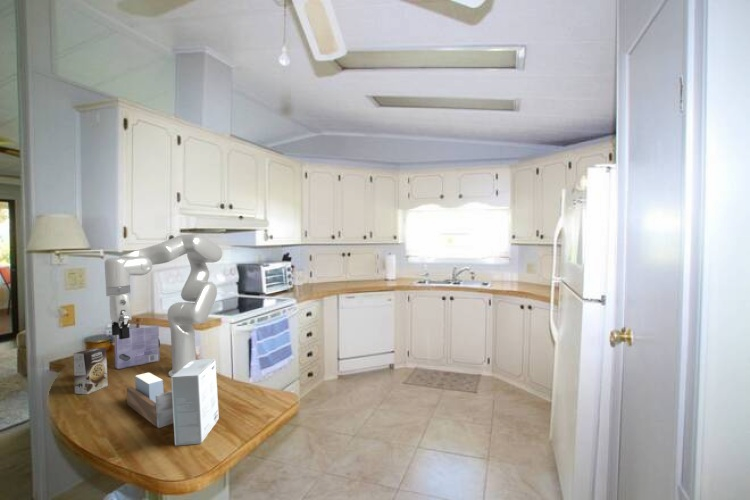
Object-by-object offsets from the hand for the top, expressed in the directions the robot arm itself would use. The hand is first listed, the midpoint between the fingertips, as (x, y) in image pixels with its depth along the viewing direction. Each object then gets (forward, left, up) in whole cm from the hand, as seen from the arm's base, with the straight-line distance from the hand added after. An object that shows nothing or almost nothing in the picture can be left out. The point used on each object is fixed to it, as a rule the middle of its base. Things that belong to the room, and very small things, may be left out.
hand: (120, 336), depth 143 cm
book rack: (-4, +21, -24) cm, 32 cm away
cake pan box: (-19, -45, -24) cm, 54 cm away
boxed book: (-4, +15, -24) cm, 28 cm away
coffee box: (+5, -22, -24) cm, 33 cm away
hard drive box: (-6, +49, -24) cm, 55 cm away
